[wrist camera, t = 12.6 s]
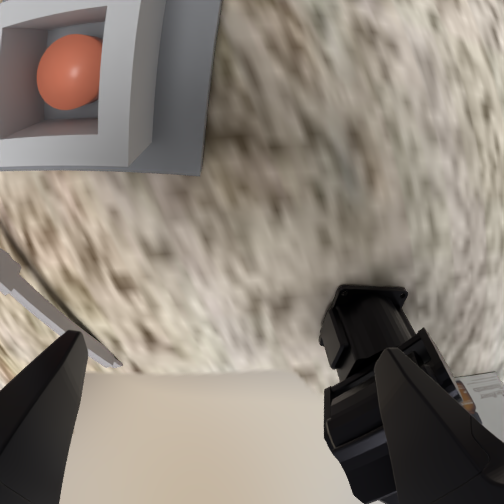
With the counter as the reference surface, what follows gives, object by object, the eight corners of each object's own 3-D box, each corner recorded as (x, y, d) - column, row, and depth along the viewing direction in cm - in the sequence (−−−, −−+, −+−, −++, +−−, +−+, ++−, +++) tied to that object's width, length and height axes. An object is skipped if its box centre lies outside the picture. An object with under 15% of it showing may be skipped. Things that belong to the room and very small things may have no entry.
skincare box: (498, 368, 36) (539, 446, 23) (478, 389, 39) (513, 465, 26) (400, 379, 33) (443, 495, 20) (380, 404, 36) (413, 511, 22)
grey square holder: (226, -25, 13) (224, -63, 8) (202, 168, 19) (191, 210, 14) (15, -1, 11) (-42, -6, 6) (11, 164, 17) (-41, 199, 12)
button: (119, 33, 13) (107, 30, 11) (113, 103, 15) (101, 108, 13) (55, 40, 12) (39, 40, 11) (52, 107, 14) (36, 112, 13)
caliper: (-20, 196, 18) (-67, 236, 13) (-14, 189, 18) (-63, 229, 13) (116, 364, 29) (103, 416, 23) (124, 361, 29) (111, 415, 23)
